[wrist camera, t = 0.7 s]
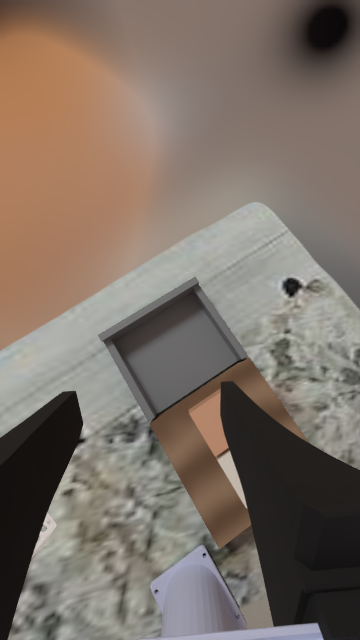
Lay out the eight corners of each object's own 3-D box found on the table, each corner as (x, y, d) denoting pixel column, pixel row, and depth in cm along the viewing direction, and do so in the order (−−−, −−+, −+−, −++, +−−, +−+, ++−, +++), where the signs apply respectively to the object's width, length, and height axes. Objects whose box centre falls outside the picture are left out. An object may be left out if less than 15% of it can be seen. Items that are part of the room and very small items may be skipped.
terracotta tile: (247, 423, 30) (254, 429, 27) (212, 448, 29) (215, 456, 26) (223, 386, 31) (227, 387, 28) (188, 409, 30) (189, 413, 27)
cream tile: (276, 467, 29) (286, 478, 26) (239, 494, 28) (246, 508, 25) (249, 427, 30) (256, 433, 27) (214, 452, 29) (217, 461, 26)
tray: (242, 357, 35) (250, 355, 31) (151, 417, 33) (147, 423, 29) (194, 286, 37) (195, 276, 34) (107, 339, 36) (98, 335, 32)
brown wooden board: (313, 458, 32) (326, 467, 29) (216, 531, 30) (219, 549, 27) (243, 358, 35) (249, 357, 32) (152, 419, 33) (149, 423, 30)
